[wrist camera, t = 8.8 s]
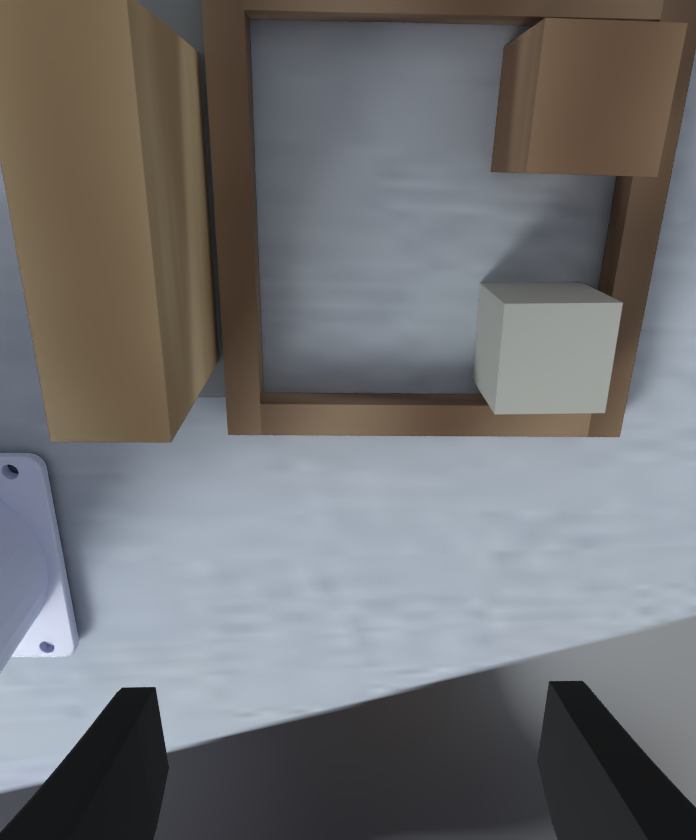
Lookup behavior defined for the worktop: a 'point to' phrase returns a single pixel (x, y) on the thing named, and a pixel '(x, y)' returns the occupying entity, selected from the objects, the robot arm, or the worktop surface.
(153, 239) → the oak board
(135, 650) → the worktop surface
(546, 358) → the offcut grey
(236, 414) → the frame
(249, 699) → the worktop surface
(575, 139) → the offcut dark
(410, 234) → the worktop surface
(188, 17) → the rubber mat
